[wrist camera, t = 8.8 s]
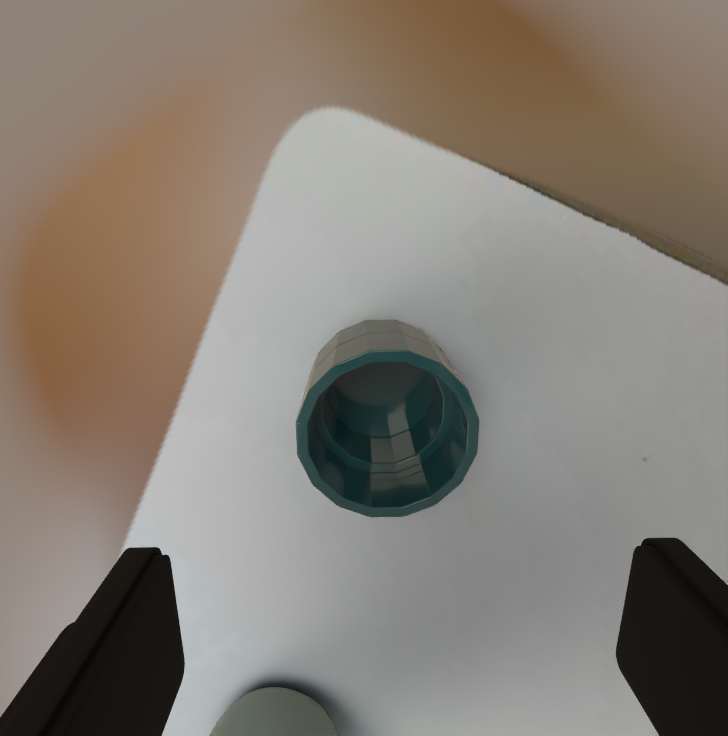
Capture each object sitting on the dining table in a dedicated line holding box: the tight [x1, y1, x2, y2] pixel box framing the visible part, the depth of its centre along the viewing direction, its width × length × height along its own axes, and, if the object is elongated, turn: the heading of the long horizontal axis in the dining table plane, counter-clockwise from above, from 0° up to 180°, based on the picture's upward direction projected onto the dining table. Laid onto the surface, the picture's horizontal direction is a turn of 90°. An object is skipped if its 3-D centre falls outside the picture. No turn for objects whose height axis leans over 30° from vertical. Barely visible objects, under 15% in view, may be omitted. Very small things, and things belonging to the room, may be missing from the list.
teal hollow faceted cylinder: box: [296, 320, 479, 517], centre depth 19 cm, size 6×6×6 cm
